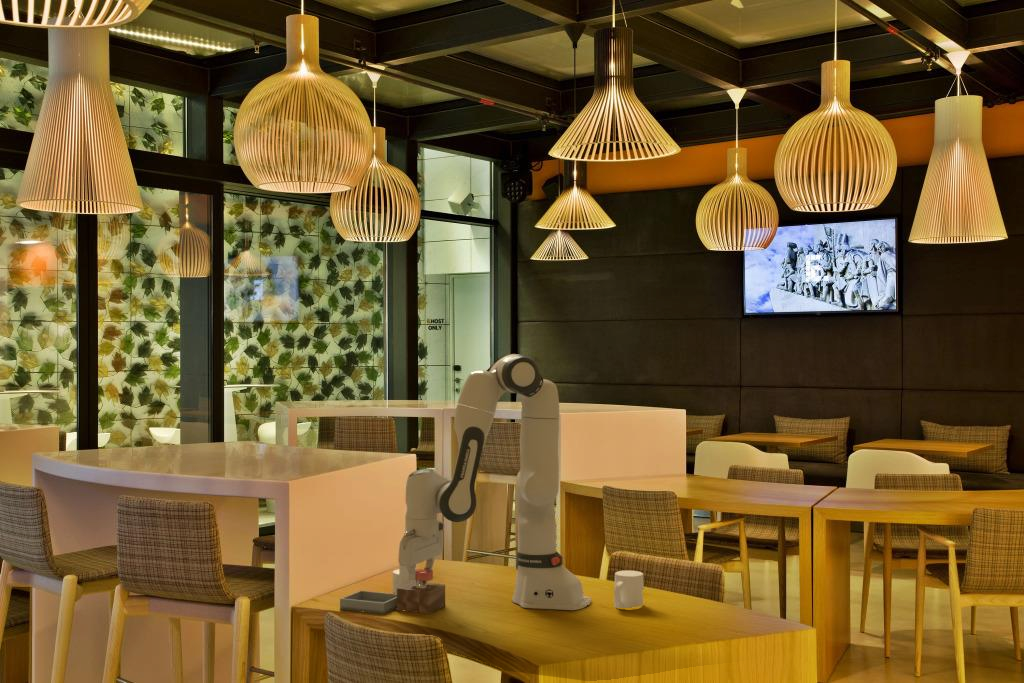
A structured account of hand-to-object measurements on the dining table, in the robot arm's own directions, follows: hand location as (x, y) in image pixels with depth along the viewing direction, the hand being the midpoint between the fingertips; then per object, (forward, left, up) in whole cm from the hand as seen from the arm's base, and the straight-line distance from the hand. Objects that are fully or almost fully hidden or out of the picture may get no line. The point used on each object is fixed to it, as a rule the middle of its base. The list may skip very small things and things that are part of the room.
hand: (420, 576), depth 295 cm
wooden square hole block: (0, 0, -9) cm, 9 cm away
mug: (-53, -23, -9) cm, 59 cm away
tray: (+13, +5, -9) cm, 16 cm away
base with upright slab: (+13, -16, -9) cm, 22 cm away
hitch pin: (0, 0, -9) cm, 9 cm away
